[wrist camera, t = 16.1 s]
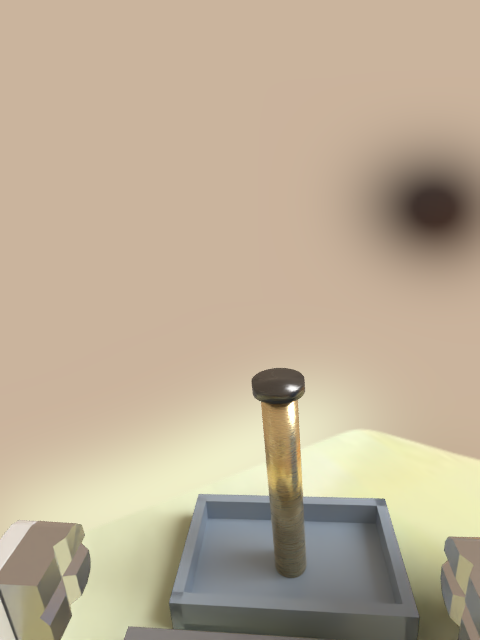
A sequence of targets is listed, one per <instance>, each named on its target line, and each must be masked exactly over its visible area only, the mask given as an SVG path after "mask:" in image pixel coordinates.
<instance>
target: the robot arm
mask: <svg viewBox="0 0 480 640" xmlns="http://www.w3.org/2000/svg"><path fill="white" fill-rule="evenodd" d="M84 536H85V534H84V531H83V528H82V525H81V524H76V523H60V522H45V521H25V520H18V521H16V522H15V523H13V524H12V525H11V526H10V527H9V529H8V530H7V531H6V533H5V534H4V535H3V536H2V537H1V539H0V640H61V638H62V636H63V633H64V631H65V629H66V627H67V625H68V623H69V621H70V619H71V617H72V613H71V607H70V605H71V604H72V603H73V602H74V601H76V600H77V599H78V598H79V597H80V596H81V595H82V593H83V591H84V589H85V586H86V584H87V581H88V577H89V573H90V554H89V550H88V549H87V548H86V547H85V546H84V545H83V544H82V543H81V542H82V540H83V538H84ZM444 551H445V553H446V556H447V558H448V561H447V562H446V563H444V564H443V565H442V569H441V587H442V594H443V598H444V602H445V606H446V609H447V611H448V614H449V617H450V618H451V619H452V620H453V621H454V622H455V623H456V624H457V625H458V626H459V627H460V630H459V636H458V640H480V537H448V538H447V540H446V542H445V548H444Z"/></svg>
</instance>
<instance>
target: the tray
mask: <svg viewBox="0 0 480 640" xmlns="http://www.w3.org/2000/svg"><path fill="white" fill-rule="evenodd" d="M303 508H304V526H305V545H306V563H307V566H306V570H305V572H304V573H303V574H302V575H300V576H299V577H296V578H287V577H284V576H282V575H281V574H280V573H279V572H278V571H277V569H276V567H275V557H274V545H273V534H272V522H271V510H270V499H269V496H253V495H212V494H199V495H198V499H197V502H196V506H195V510H194V513H193V517H192V521H191V524H190V528H189V532H188V535H187V539H186V543H185V546H184V550H183V554H182V557H181V561H180V565H179V568H178V572H177V575H176V579H175V583H174V586H173V590H172V594H171V597H170V601H169V606H170V612H171V618H172V624H173V629H180V630H195V631H210V632H226V633H241V634H256V635H272V636H287V637H302V638H318V639H333V640H417V637H418V628H419V618H420V617H419V614H418V610H417V607H416V603H415V600H414V597H413V593H412V590H411V586H410V583H409V580H408V576H407V573H406V569H405V566H404V563H403V559H402V556H401V552H400V549H399V546H398V542H397V539H396V535H395V532H394V529H393V525H392V522H391V518H390V515H389V512H388V508H387V505H386V501H385V499H375V498H334V497H303Z"/></svg>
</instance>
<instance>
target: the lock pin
mask: <svg viewBox="0 0 480 640" xmlns="http://www.w3.org/2000/svg"><path fill="white" fill-rule="evenodd" d="M252 390H253V395H254V397H255V398H256V399H257V400H259V401H261V406H262V416H263V417H262V418H263V429H264V439H265V440H264V441H265V452H266V464H267V476H268V487H269V499H270V510H271V522H272V534H273V545H274V557H275V567H276V569H277V571H278V572H279V573H280V574H281V575H282V576H284V577H287V578H296V577H299V576H300V575H302V574H303V573H304V572H305V570H306V566H307V563H306V545H305V526H304V508H303V489H302V471H301V452H300V434H299V417H298V399H299V398H301V397H302V396H303V394H304V392H305V382H304V376H303V375H302V374H301V373H300V372H298V371H296V370H292V369H287V368H274V369H268V370H264V371H262V372H259V373H258V374H256V375H255V376H254V377H253V378H252Z"/></svg>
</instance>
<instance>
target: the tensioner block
mask: <svg viewBox="0 0 480 640" xmlns="http://www.w3.org/2000/svg"><path fill="white" fill-rule="evenodd" d="M124 640H328V639H312V638H297V637H282V636H267V635H251V634H236V633H221V632H206V631H190V630H175V629H160V628H144V627H129V626H128V629H127V632H126V635H125V638H124Z"/></svg>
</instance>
